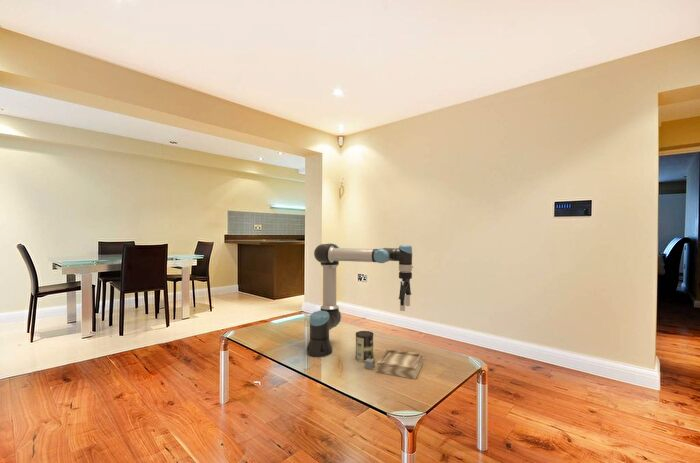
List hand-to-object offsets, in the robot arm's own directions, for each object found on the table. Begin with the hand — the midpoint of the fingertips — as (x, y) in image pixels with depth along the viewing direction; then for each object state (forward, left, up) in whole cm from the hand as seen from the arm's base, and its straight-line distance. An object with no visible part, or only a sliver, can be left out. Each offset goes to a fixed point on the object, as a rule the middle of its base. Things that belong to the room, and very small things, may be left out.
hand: (405, 308), depth 183 cm
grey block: (-14, -22, -28) cm, 38 cm away
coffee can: (-21, -11, -28) cm, 37 cm away
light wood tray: (+1, -16, -28) cm, 32 cm away
